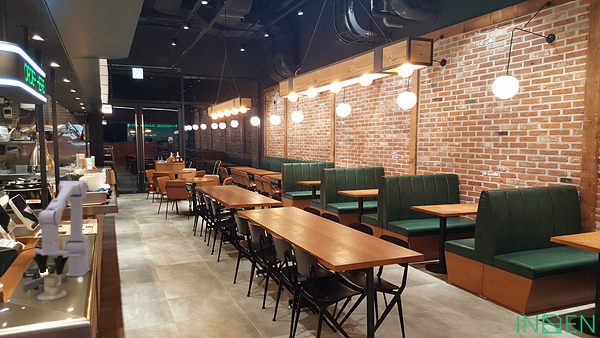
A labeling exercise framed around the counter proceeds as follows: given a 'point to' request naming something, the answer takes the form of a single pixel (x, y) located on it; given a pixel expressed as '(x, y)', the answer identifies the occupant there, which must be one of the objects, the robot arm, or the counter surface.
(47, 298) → the saucer
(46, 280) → the maple block
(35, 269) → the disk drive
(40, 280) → the slot rack
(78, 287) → the counter surface
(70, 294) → the counter surface
